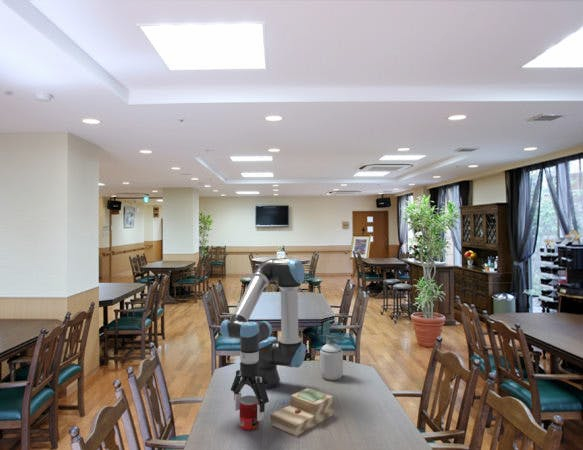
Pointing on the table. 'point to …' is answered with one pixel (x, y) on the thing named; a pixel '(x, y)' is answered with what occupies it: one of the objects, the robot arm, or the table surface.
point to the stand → (303, 411)
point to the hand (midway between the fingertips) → (248, 414)
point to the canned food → (248, 413)
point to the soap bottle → (331, 356)
